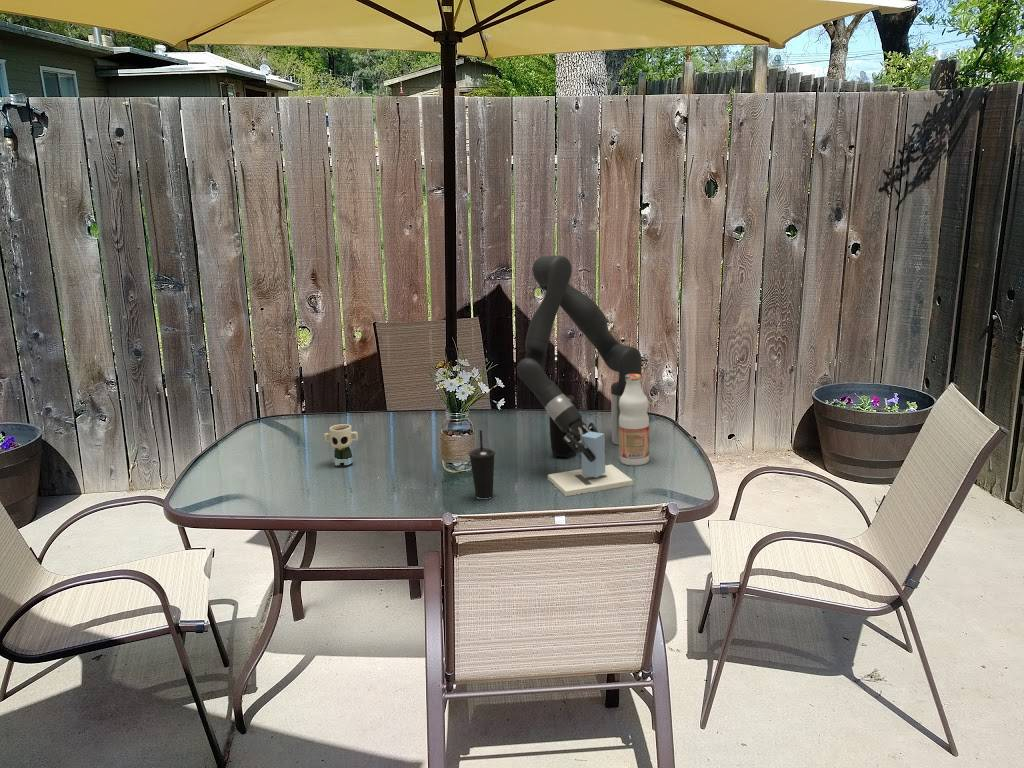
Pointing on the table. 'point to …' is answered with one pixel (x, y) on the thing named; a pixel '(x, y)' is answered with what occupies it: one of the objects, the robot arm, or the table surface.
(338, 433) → the character mug
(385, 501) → the table surface
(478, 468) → the drinking cup
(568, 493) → the letter board
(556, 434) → the portable speaker
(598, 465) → the slate pillar
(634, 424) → the fruit juice
